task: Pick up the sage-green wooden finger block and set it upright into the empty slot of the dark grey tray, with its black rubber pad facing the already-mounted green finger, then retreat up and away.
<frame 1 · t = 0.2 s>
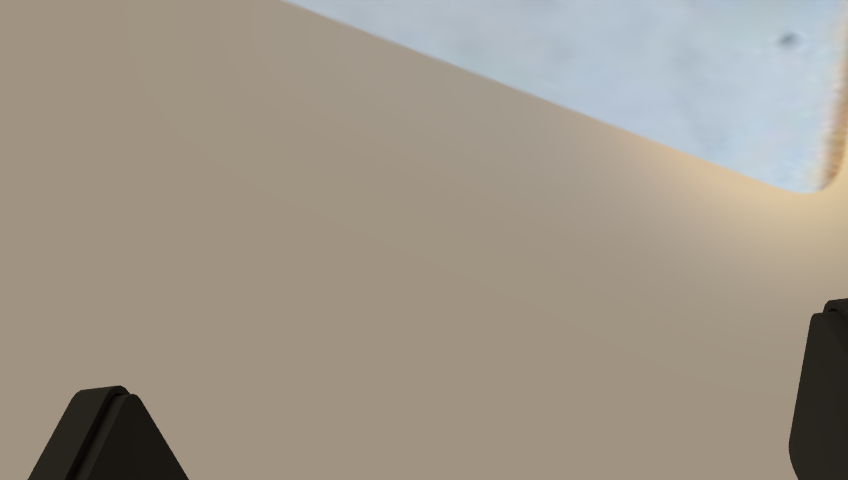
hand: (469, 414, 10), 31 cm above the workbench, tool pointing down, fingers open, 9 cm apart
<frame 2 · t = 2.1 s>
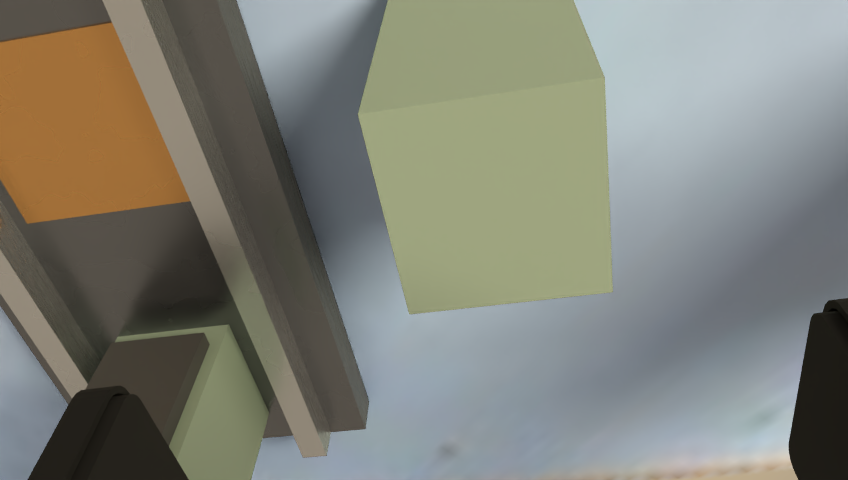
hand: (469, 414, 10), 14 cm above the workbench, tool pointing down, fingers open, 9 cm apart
dark grey tray: (149, 233, 26), on the workbench
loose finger: (483, 46, 22), on the workbench
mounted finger: (207, 349, 30), resting on dark grey tray
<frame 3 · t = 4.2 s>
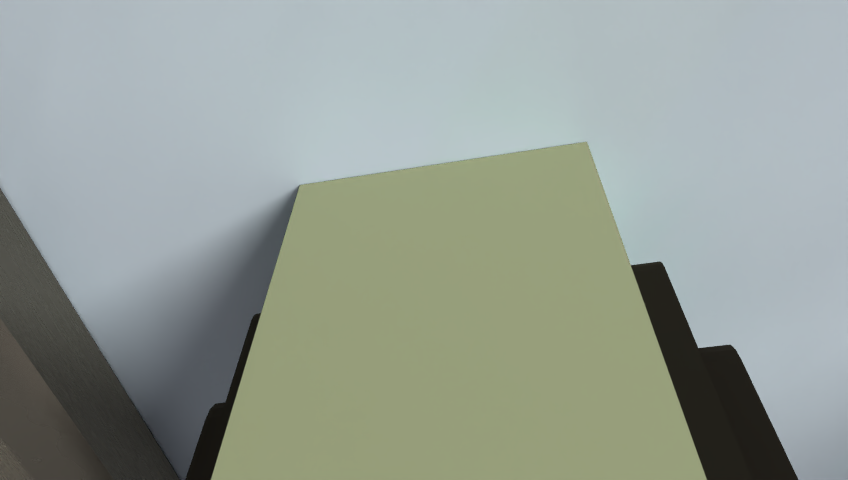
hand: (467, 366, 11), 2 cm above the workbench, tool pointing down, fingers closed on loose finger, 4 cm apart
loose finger: (463, 287, 12), on the workbench, touching gripper
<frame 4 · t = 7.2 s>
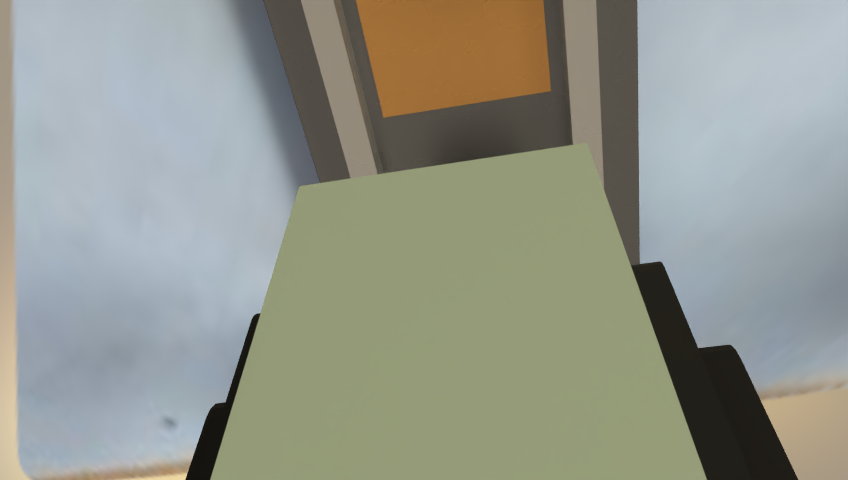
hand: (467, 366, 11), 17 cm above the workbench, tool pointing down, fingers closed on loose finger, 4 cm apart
dark grey tray: (472, 133, 28), on the workbench
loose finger: (463, 288, 12), point 15 cm above the workbench, touching gripper
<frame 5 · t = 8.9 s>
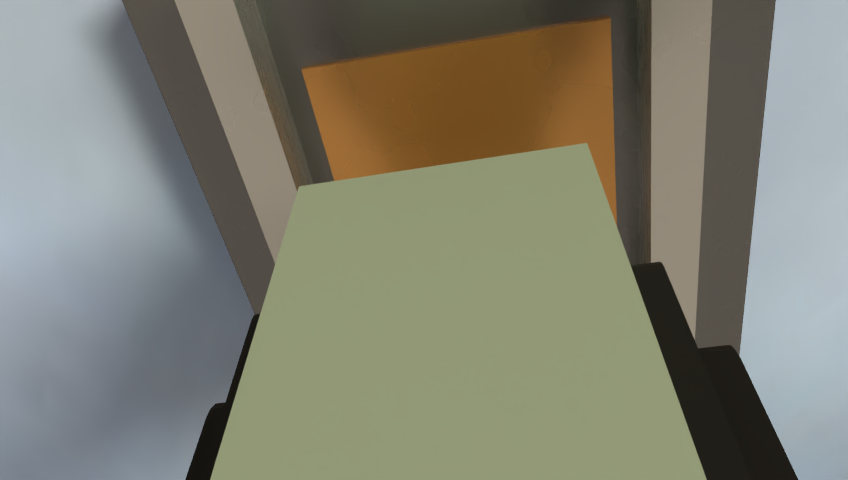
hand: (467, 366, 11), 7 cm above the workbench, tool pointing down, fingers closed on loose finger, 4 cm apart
dark grey tray: (497, 302, 20), on the workbench
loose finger: (463, 288, 12), point 5 cm above the workbench, touching gripper
when the fingers open (4 cm above the workbench, at t = 10.3 s): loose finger stays where it is, resting on dark grey tray.
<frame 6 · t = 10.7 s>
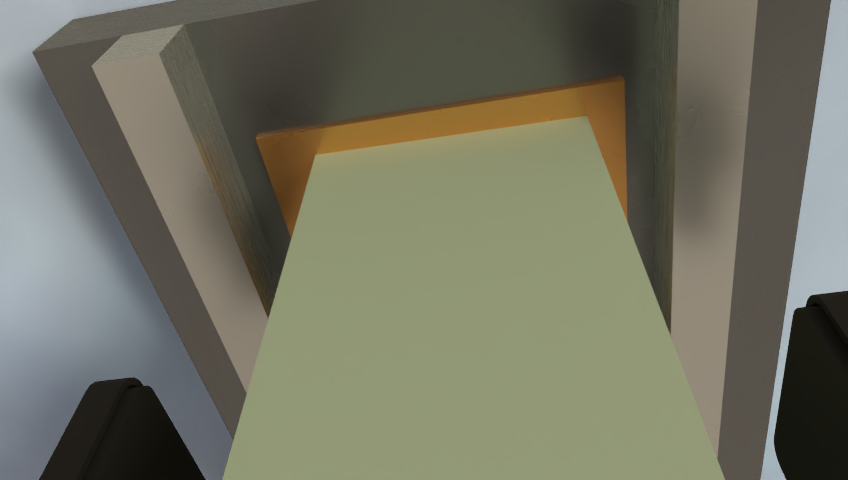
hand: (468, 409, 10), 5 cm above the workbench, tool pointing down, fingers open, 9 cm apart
dark grey tray: (491, 379, 17), on the workbench
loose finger: (468, 255, 13), point 2 cm above the workbench, touching dark grey tray
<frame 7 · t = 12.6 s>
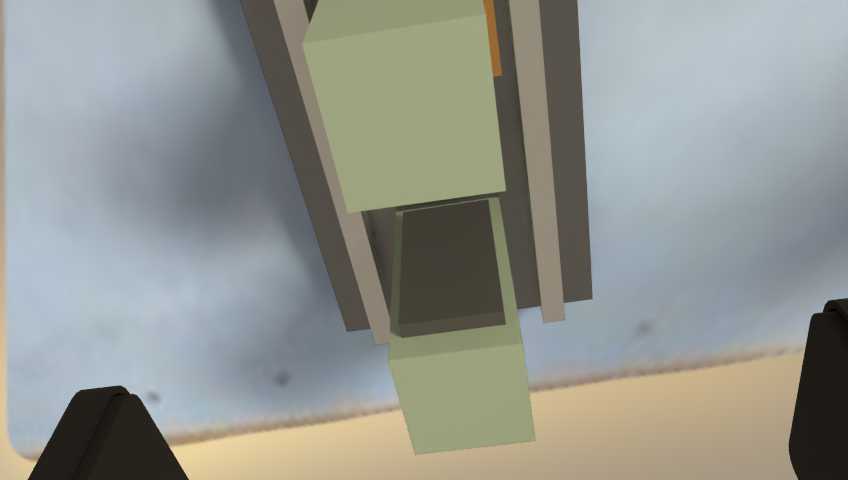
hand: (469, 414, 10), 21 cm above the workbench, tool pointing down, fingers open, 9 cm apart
dark grey tray: (433, 116, 30), on the workbench
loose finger: (413, 11, 26), point 2 cm above the workbench, touching dark grey tray
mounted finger: (454, 231, 34), resting on dark grey tray
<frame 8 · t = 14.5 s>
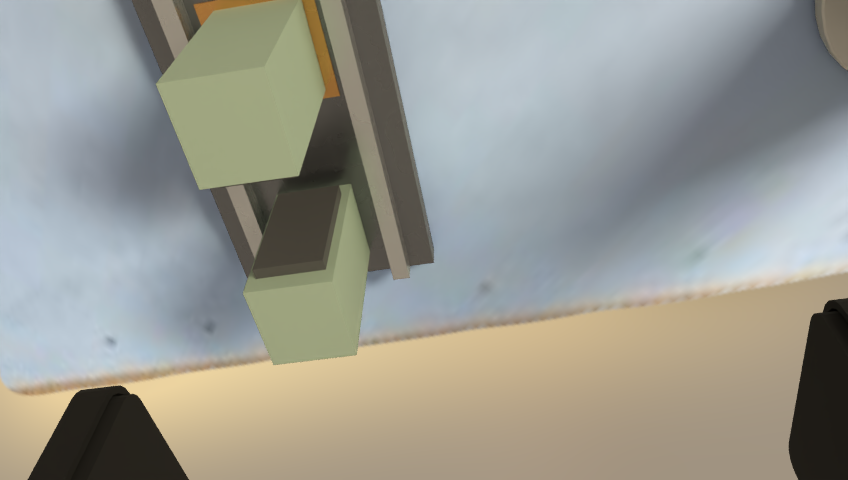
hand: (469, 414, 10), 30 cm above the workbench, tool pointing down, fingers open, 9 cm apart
dark grey tray: (301, 124, 41), on the workbench
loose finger: (271, 51, 37), point 2 cm above the workbench, touching dark grey tray
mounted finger: (327, 210, 45), resting on dark grey tray
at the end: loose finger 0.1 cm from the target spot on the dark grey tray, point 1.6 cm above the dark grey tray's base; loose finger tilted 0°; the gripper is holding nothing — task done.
